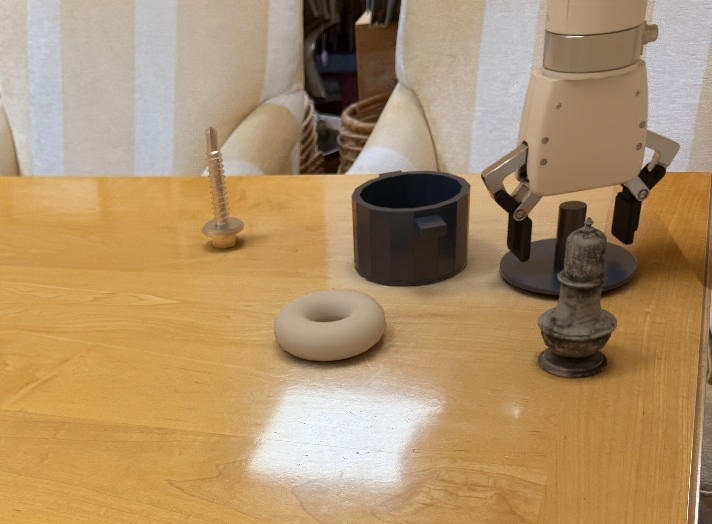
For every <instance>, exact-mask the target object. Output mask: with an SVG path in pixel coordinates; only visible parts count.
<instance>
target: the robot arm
mask: <svg viewBox="0 0 712 524" xmlns="http://www.w3.org/2000/svg"><path fill="white" fill-rule="evenodd" d="M647 7H648V0H547V2H546V14H545V27H544V28H545V29H544V40H543V53H542V65H541V68H536V69H533V70H532V71H531V74H530V77H529V81H528V84H527V88H526V91H525V97H524V100H523V105H522V110H521V115H520V121H519V127H518V134H517V140H516V147H515V148H514V149H513V150H511V151H509V152H508V153H506V154H505V155H504V156H502V157H501V158H499V159H498V160H496V161H495V162H494V163H492V164H490V165H489V166H487V167H486V168H484V169H483V170H482V171H481V173H480V178H481V180H482V182H483V184H484V186H485V187H486V190H487V192H488V193H489V196H490V198H491V199H492V200H493V201H494V202H495V204H497V205H498V206H499V207H500V208H502V209H503V210H504V211H505V212H506V213H507V214H508V215H507V216H508V217H507V233H506V247H507V249H508V251H511V252H512V253H513V254H514V255H515V256H516V257H517V258H518V259H519V260H520V261H521V262H525V261H528V259H530V248H531V242H532V234H533V233H532V232H533V220H532V219H531V218H530V217H529V214H530V213H531V212H532V211H533V209H534V208H535V207H536V205H537V204H539V202H540V200H541V199H542V198H543V197H552V196H558V195H559V196H561V195H566V194H571V193H578V192H583V191H590V190H596V189H603V188H608V187H614V186H618V185H619V187H620V188H621V191H617V194H616V195H615V198H614V199H615V200H614V205H613V213H612V221H611V229H610V234H611V235H612V236H613V237H614V238H616V239H617V240H618V241H619V242H620V243H621V244H623V245H625V246H630V245H633V243H634V239H635V234H636V233H635V232H636V231H638V229H639V225H640V220H641V219H640V218H641V213H642V212H641V211H642V205H643V201H646V200H647V199H649V197H650V195H651V192H650V191H652V189H654V187H656V185H657V184H658V183H659V182H660V181H661V180H662V179H663V178H665V176H666V173H667V169H668V167H670V166H671V163H672V162H673V161H674V159H675V157H676V156H677V154H678V153H679V151H680V149H681V145H680V143H679V142H677V141H675V140H673V139H672V138H670V137H667V136H664V135H662V134H660V133H657V132H654V131H652V130H649V129H648V121H649V86H648V85H649V84H648V83H649V82H648V71H647V62H646V61H645V60H643V59H642V58H641V56H643V54H644V53H643V52H644V47H645V46H646V45H648V43H654V42H656V41H657V40H658V37H659V26H658V24H656V23H652V24H651V23H650V24H649V23H647V20H646V16H647V15H646V14H647V9H648V8H647ZM646 148H648V149H650V150H653V155H652V157H651V160H650V161H649V162H647V163H646V164H645V165H644V166H643V163H644V159H645V154H646V153H645V151H646ZM513 173H514V178H515V180H516V181H518V185H517V186H516V187H515V188H514V190H513V191H512V192H511V193H509V192H507V189H506V188H505V187H506V186H505V185H504V180H505V179H506V178H507V177H508V176H510V175H511V174H513Z"/></svg>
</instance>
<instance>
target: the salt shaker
mask: <svg viewBox="0 0 712 524" xmlns="http://www.w3.org/2000/svg"><path fill="white" fill-rule="evenodd" d="M594 223H595V221H593V218H591V217H590V216H588V217H587V218H586V221H585V222H584V224H585V227H582V228H579V229H577V230H575V231H573V232H572V233H571V234H570V235H569V236H568V238H567V241H566V250H565V260H564V269H563V270H562V271H560V272H559V273H558V277H557V278H558V280H559V281H560V282H561V288H560V295H559V298H558V301H557V304H556V306H555V307H552V308H549V309H547V310H545V311H544V312H542V313H541V314H540V315H539V317H538V318H537V326H538V328H539V329H540V335H541V337H542V340H543V342H544V345H545V346H546V347H547V348H545V349H544V350H543V351H541V352H540V354H539V355H538V358H537V362H538V363H537V364H538V365H539V367H540V368H541V369H542V370H543V371H545V372H547V373H548V374H551V375H553V376H558V377H563V378H572V379H573V378H574V379H576V378H577V379H578V378H587V377H591V376H594V375H597V374H600V373H601V372H603V371H604V370H605V369H606V368H607V366H608V358H607V356H606V355H605V354H604V353H603V352H602V351H601V350H602V349H604V348H605V346H606V345H607V343H608V342H609V340H610V338H611V337H612V333H614V332H615V330H616V329H617V327H618V320H617V318H616V316H615V315H614V314H612V313H611V312H610V311H609V310H606V309H605V308H602V303H601V299H602V292H603V291H602V284H603V283H604V282H606V281H607V279H608V275H607V273H606V272H605V271H603V269H604V261H605V254H606V246H607V242H608V238H607V235H606V234H605V233H604V232H603V231H601V229H599V228H596V227H594V226H592V225H593V224H594Z"/></svg>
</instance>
